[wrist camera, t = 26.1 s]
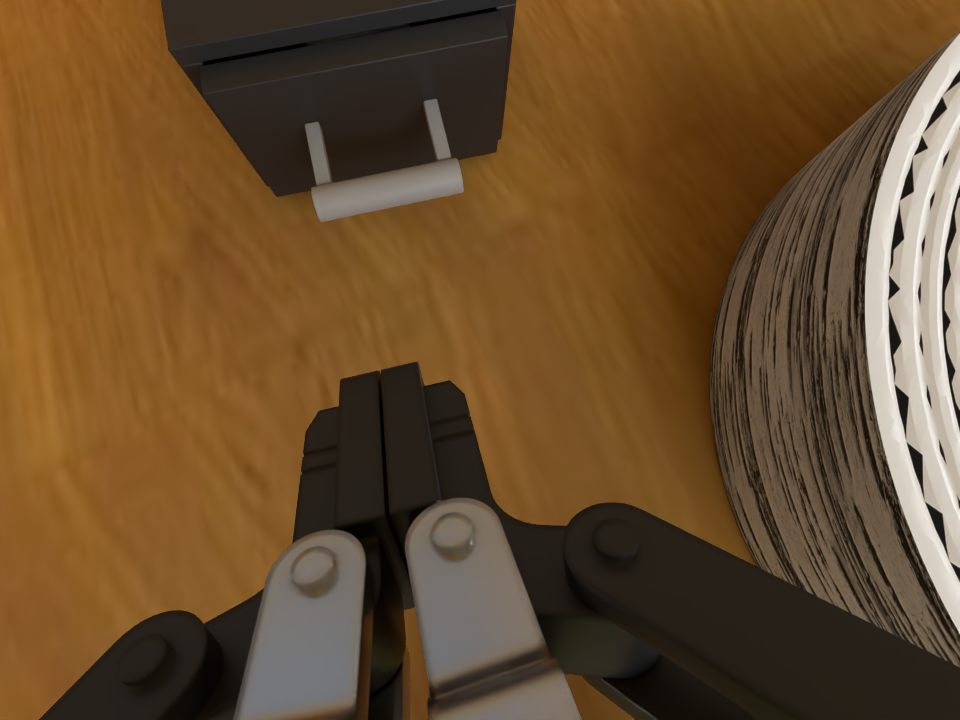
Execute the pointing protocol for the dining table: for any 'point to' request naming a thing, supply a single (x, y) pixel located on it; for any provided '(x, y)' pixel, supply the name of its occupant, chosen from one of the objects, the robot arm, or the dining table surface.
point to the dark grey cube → (297, 27)
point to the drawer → (368, 112)
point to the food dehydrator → (855, 368)
